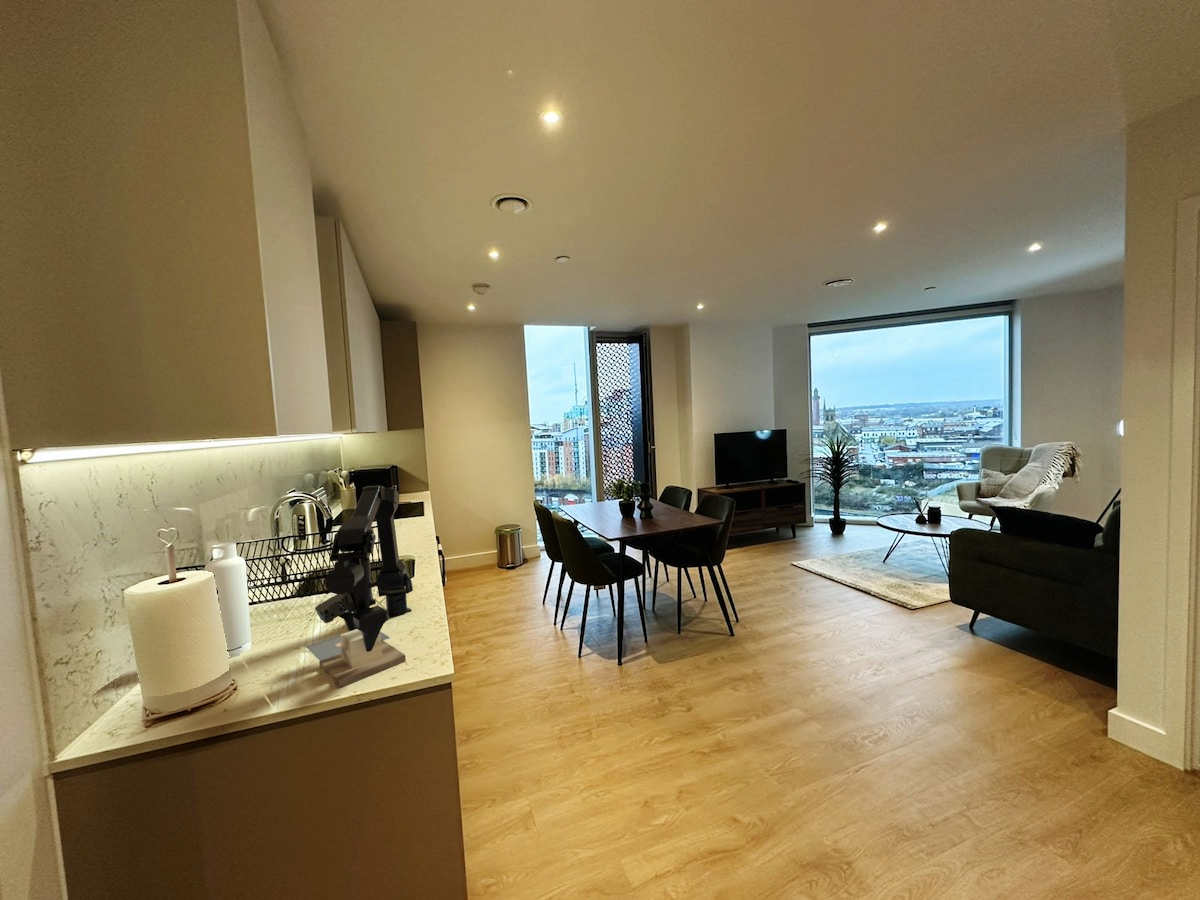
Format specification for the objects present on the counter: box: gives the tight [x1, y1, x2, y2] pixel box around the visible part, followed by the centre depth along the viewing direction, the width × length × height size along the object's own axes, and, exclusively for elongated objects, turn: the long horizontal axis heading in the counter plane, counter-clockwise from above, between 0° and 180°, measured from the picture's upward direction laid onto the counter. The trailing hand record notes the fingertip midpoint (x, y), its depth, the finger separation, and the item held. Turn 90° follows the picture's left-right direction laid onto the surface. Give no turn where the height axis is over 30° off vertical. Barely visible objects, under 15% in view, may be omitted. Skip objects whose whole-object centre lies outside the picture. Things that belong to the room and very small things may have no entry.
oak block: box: [339, 629, 382, 668], centre depth 104 cm, size 6×6×6 cm
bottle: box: [204, 542, 253, 659], centre depth 113 cm, size 8×8×28 cm
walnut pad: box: [318, 639, 407, 689], centre depth 104 cm, size 14×14×2 cm
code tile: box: [304, 631, 391, 661], centre depth 116 cm, size 14×16×1 cm
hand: (361, 645), depth 104 cm, fingers open, 9 cm apart
